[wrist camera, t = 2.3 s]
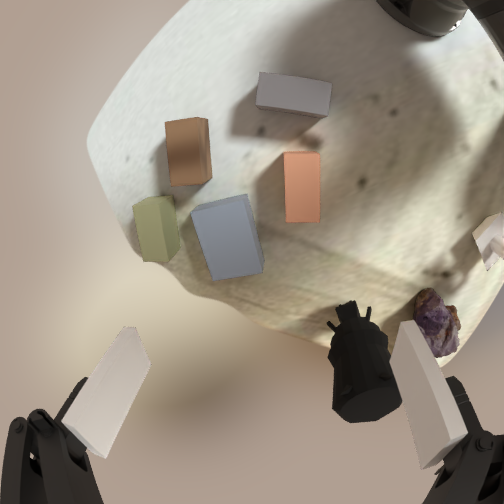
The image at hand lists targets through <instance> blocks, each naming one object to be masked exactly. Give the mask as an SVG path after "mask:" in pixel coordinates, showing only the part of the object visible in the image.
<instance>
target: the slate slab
mask: <svg viewBox="0 0 504 504" xmlns="http://www.w3.org/2000/svg"><path fill="white" fill-rule="evenodd" d="M190 214H191V217H192V220H193V223H194V226H195V230H196V233H197V236H198V239H199V242H200V245H201V248H202V251H203V254H204V257H205V260H206V262H207V265H208V268H209V271H210V274H211V277H212V280H213V281H217V280H223V279H229V278H236V277H242V276H248V275H254V274H259V273H263V267H264V257H263V253H262V249H261V245H260V241H259V237H258V233H257V230H256V226H255V222H254V218H253V214H252V210H251V206H250V202H249V199H248V195H247V194H243V195H239V196H234V197H230V198H226V199H222V200H218V201H213V202H209V203H205V204H201V205H198V206H197V207H196V208H195V209H194V210H193V211H191V212H190Z"/></svg>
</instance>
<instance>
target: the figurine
mask: <svg viewBox="0 0 504 504" xmlns="http://www.w3.org/2000/svg"><path fill="white" fill-rule="evenodd" d="M472 235H473V237H474V239H475V242H476V244H477V246H478V249H479V251H480V254H481V256H482V259H483V262H484V264H485V267H486V270H487V271H488V270H489V269H490V268H491V267H492V266H493V265H494V264H495V262H496V261H497V260H498V259H499V258H500V257H501V258H503V259H504V216H503V214H502V212H500V213H497V214H494V215H491V216H488V217H487V218H486V219H485V220H484V221H483V222H482V223H481V224H480V225H479V226H478V227H477V228H476V229H475V230H474V232H473V233H472Z"/></svg>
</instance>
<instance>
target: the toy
mask: <svg viewBox="0 0 504 504" xmlns="http://www.w3.org/2000/svg"><path fill="white" fill-rule="evenodd" d="M335 310H336V312H337V315H338V318H339V321H340V323H341V324H340V325H338V326H337V327H335V326H334V325H333V324H332V323H331V322H330V321H328V322H327V325H328V326H329V327H330V328H331V329H332V330H333V331H334V332H335V334H334V336H333V337H332V340H331V344H330V345H331V349H330V351H329V355H328V359H329V361H330V362H331V364H332V366H333V367H334V385H333V404H332V409H333V410H334V411H336V413H337V414H339V416H341V418H343V419H344V420H345V421H347V422H349V423H359V422H370V421H377V420H379V419H380V418H382V417H384V416H385V415H387V414H389V413H390V412H392V411H394V410H395V409H397V408H398V407H399V406H400V405H401V403H402V398H401V395H400V391H399V388H398V385H397V382H396V379H395V377H394V374H393V371H392V368H391V365H390V358H391V355H390V353H389V351H388V336H387V335H385V334H384V333H383V332H381V331H380V329H379V327H378V326H377V325H376V324H375V323H373V322H370V316H371V310H372V309H371V306H370V307H368V308H367V313H366V317H360V313H359V310H358V307H357V304H356V301H352V300H351V301H349V303H347V304H344V305H341V304H340V305H339V306H338V307H336V309H335Z"/></svg>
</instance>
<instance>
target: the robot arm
mask: <svg viewBox="0 0 504 504" xmlns="http://www.w3.org/2000/svg"><path fill="white" fill-rule="evenodd" d="M377 2H378V3H379V4H380V5H381V7H382V8H383V9H384V10H385V11H386V12H387V13H389V14H390V15H391V16H392V17H393V18H394V19H396V20H397V21H399V22H400V23H401V24H403V25H405V26H406V27H408V28H410V29H412V30H414V31H416V32H419V33H421V34H425V35H429V36H443V35H446V34H448V33H450V32H452V31H454V30H455V29H456V28H457V27H458V26H459V24H460V22H461V20H462V18H463V17H464V15H465V13H466V11H467V10H468V9H470V11H471V12H472V13H473V14H474V16H475V17H476V18H477V20H478V21H479V23H480V24H481V25H482V27H483V28H484V30H485V31H486V33H487V34H488V36H489V37H490V39H491V40H492V42H493V44H494V45H495V47H496V48H497V50H498V52H499V54H500V55H501V57H502V59H503V61H504V0H377ZM390 365H391V368H392V371H393V374H394V377H395V379H396V382H397V385H398V388H399V391H400V395H401V398H402V401H403V404H404V407H405V410H406V414H407V417H408V421H409V424H410V428H411V431H412V435H413V439H414V443H415V446H416V450H417V454H418V458H419V463H420V467H421V470H422V469H425V468H428V467H431V466H434V465H437V464H438V463H439V462H440V461H441V460H442V459H443V461H444V465H443V466H442V467H441V468H440V469H438V471H437V472H436V473H435V475H437V474H438V473H439V472H440V473H439V475H438V477H437V479H436V481H435V483H434V484H433V486H432V488H431V490H430V491H429V493H428V495H427V497H426V499H425V500H424V502H423V503H422V504H504V435H496V436H495V435H493V434H492V433H490V432H488V431H484V430H483V429H482V427H481V425H480V422H479V420H478V418H477V415H476V413H475V411H474V409H473V406H472V404H471V402H470V401H469V398H468V395H467V394H466V391H465V389H464V387H463V385H462V383H461V382H460V381H459V380H457V378H456V377H454V376H452V377H448V378H444V375H443V373H442V371H441V369H440V367H439V365H438V363H437V361H436V359H435V357H434V355H433V353H432V351H431V349H430V348H429V346H428V344H427V342H426V340H425V338H424V336H423V335H422V333H421V331H420V329H419V327H418V326H417V324H416V322H415V320H411V321H403V322H400V326H399V330H398V334H397V338H396V341H395V345H394V348H393V352H392V355H391V358H390ZM150 366H151V362H150V360H149V358H148V356H147V353H146V351H145V349H144V347H143V344H142V342H141V339H140V337H139V335H138V332H137V330H136V328H134V327H123V329H122V330H121V332H120V333H119V334H118V336H117V337H116V339H115V340H114V341H113V343H112V344H111V346H110V347H109V349H108V350H107V351H106V353H105V354H104V356H103V357H102V359H101V360H100V362H99V363H98V365H97V366H96V368H95V369H94V371H93V372H92V374H91V375H90V377H89V378H87V377H84V378H83V379H82V380H81V381H80V382H78V383H77V385H76V386H75V388H74V389H73V392H71V394H70V396H69V398H67V400H66V402H65V403H64V405H63V406H62V408H61V409H60V411H59V413H58V414H57V416H56V417H55V419H54V420H53V419H52V418H51V417H50V416H49V414H48V413H47V412H46V411H45V410H43V409H36V410H34V411H32V412H31V413H30V414H29V416H28V418H27V420H26V419H24V418H23V417H17V418H16V419H14V420H13V421H12V422H11V424H10V427H9V433H8V437H7V443H6V448H5V455H4V461H3V469H2V480H1V493H0V504H104V503H103V501H102V498H101V495H100V493H99V490H98V487H97V484H96V481H95V478H94V475H93V471H92V468H91V465H90V461H89V458H88V455H87V453H86V452H85V451H86V449H87V448H88V449H89V450H90V451H91V452H92V453H93V454H96V455H98V456H101V457H103V458H107V455H108V453H109V451H110V449H111V446H112V444H113V442H114V440H115V438H116V436H117V434H118V432H119V429H120V427H121V425H122V423H123V421H124V419H125V417H126V415H127V413H128V411H129V409H130V407H131V405H132V402H133V400H134V398H135V396H136V394H137V392H138V390H139V388H140V386H141V384H142V382H143V380H144V378H145V376H146V374H147V372H148V370H149V368H150ZM30 452H31V453H32V454H33V455H34V457H33V459H31V458H30Z"/></svg>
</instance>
